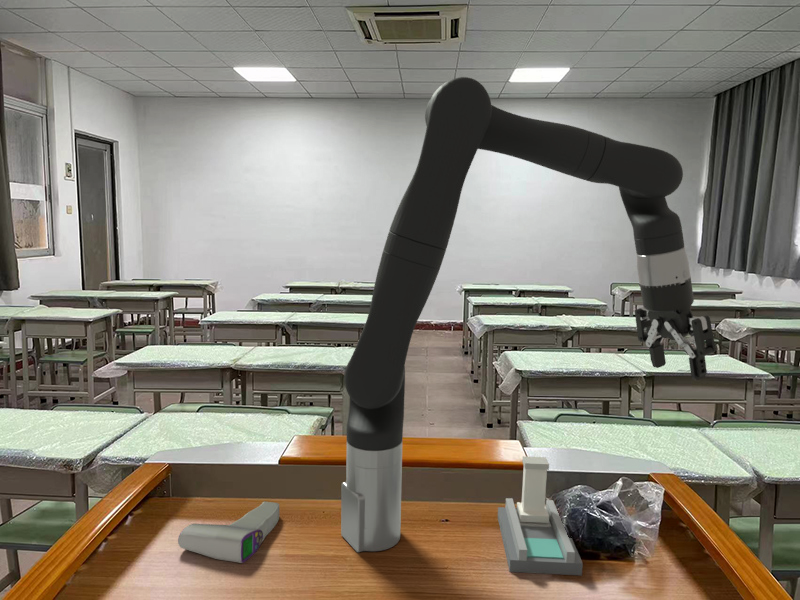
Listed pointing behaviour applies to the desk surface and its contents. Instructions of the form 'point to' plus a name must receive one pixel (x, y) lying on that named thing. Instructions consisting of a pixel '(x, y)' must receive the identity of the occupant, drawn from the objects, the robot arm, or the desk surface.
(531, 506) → the switch tab
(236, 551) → the infrared thermometer
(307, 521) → the desk surface
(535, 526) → the switch panel
